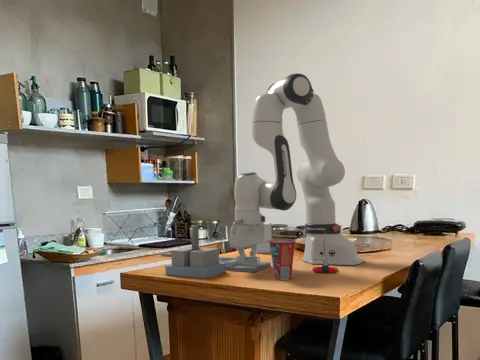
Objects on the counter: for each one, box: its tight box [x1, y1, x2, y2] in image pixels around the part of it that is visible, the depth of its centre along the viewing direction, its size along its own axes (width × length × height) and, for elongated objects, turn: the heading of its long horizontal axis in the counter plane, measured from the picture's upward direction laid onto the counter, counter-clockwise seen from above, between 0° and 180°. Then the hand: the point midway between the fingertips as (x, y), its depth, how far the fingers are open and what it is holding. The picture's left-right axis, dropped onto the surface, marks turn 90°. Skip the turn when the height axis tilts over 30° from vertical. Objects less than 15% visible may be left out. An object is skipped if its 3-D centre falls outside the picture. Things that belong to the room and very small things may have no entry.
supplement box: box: [256, 222, 273, 254], centre depth 207 cm, size 7×7×13 cm
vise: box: [160, 224, 226, 279], centre depth 160 cm, size 22×12×16 cm, turn 62°
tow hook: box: [312, 234, 339, 274], centre depth 160 cm, size 8×13×9 cm
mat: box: [225, 261, 272, 273], centre depth 170 cm, size 22×14×1 cm, turn 62°
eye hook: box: [219, 254, 261, 267], centre depth 169 cm, size 18×10×3 cm, turn 62°
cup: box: [265, 238, 297, 281], centre depth 147 cm, size 9×8×12 cm
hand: (248, 258), depth 167 cm, fingers open, 6 cm apart
